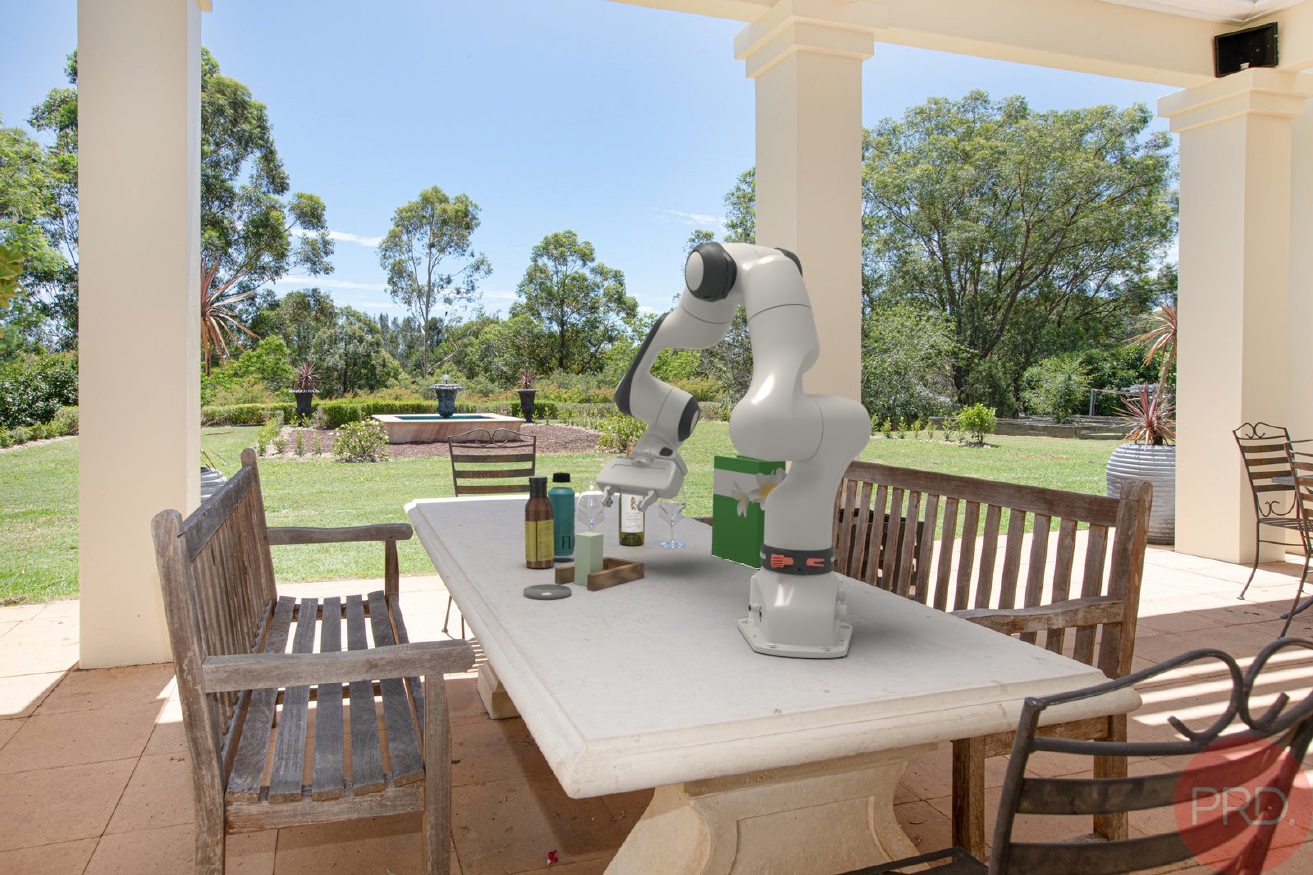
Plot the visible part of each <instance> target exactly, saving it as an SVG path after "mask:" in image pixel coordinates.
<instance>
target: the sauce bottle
mask: <svg viewBox="0 0 1313 875" xmlns="http://www.w3.org/2000/svg"><path fill="white" fill-rule="evenodd" d="M548 482H549V481H548V476H546V475H530V476H528V483H529V499H528V500H527V502H526V503H525V506H524V533H525V534H524V544H525V545H524V546H525V547H524V549H525V550H524V551H525V562H526V567H528V568H529V569H536V568H538V569H540V570H541V568H543V569H549V568H552V567H553V566H554V564H555V556H554V525H553V510H552V505H551V504H550V501H549V499H548ZM538 569H537V570H538Z"/></svg>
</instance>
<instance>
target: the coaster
mask: <svg viewBox="0 0 1313 875" xmlns="http://www.w3.org/2000/svg"><path fill="white" fill-rule="evenodd" d="M522 591H523V592H522V594H523V596H524V597H525V598H527V599H531V600H539V601H540V600H541V601H547V600H548V601H551V600H561V599H565V598H569V597H571V595H572V588H570V587H568V586H565V585H563V584H552V583H551V584H550V583H549V584H544V583H543V584H534V585H530V586H526V587H524V588H523V590H522Z"/></svg>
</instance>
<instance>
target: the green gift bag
mask: <svg viewBox="0 0 1313 875" xmlns="http://www.w3.org/2000/svg"><path fill="white" fill-rule="evenodd" d="M778 468H782V469H783V470H784V471H785V472H786V470H787V461H771V462H769V461H763V460H758V459H754V458H750V457H746V456H743V455H741V454H736V457H730V456H723V455H714V456H713V482H712V483H713V485H712V487H713V490H712V520H711V521H712V526H711V527H712V528H711V530H712V532H711V556H712V555H715V556H718V557H721V558H723V559H729V560H732V561H735V562H738V563H744V564H746V565H749V566H752V567H754V568H761V567H762V566H761V564H760V558H761V556H760V550H761V544H762V543H763V542H764V521H765V510H762V509H761V508H760V502H761V500H762V499H761V500H759V501H757V502H755V503H753V504H752V502H753V501H754V500H755V499H750V500H749V503H748V507H747V513H746V518H745V516H744V513H743V511H742V513H741V515H740V516H739V515H738V513H737V506H738V503H739V502H740V501H741V500H736V499H734V498H733V496H732V494H731V490H732V489H734V490H737V489H736V487H735V485H734V483H733V479H734V480H735V481H736V482H737V483H738V484H739V486H740V487H741V488H742V489H743V490H744V491H745V492H747V493H748V492H749V491H751V490H753V489H761V488H760V487H759V485H758V484H757V481H756V475H757V474H758V473H762V474H764V475H765V476H766V477H767V479H768V480H769V478H770V475H771V473H772V471H773V470H774V472H773V476H774V475H776V470H777V469H778ZM786 473H787V472H786ZM738 491H739V490H738ZM743 510H744V509H743ZM723 559H722V560H723Z"/></svg>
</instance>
